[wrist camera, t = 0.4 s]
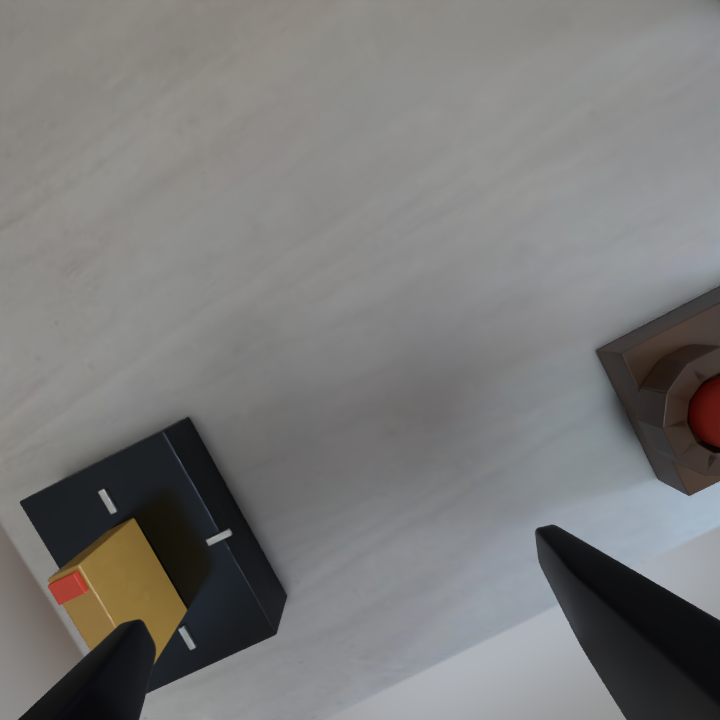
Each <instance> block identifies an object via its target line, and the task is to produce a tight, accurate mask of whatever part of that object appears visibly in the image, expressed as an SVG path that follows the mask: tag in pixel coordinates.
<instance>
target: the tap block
mask: <svg viewBox="0 0 720 720" xmlns="http://www.w3.org/2000/svg"><path fill="white" fill-rule="evenodd" d="M20 504H21V506H22V507H23V509H24V511H25V512H26V514H27V516H28V517H29V519H30V521H31V522H32V524H33V526H34V527H35V529H36V531H37V532H38V534H39V535H40V537H41V539H42V540H43V542H44V544H45V545H46V547H47V549H48V550H49V552H50V554H51V555H52V557H53V559H54V560H55V562H56V564H57V565H58V567H59V569H61V568H62V567H63V566H65V565H66V564H67V563H68V562H70V561H71V560H72V559H73V558H75V557H76V556H77V555H78V554H79V553H81V552H82V551H83V550H84V549H86V548H87V547H88V546H89V545H91V544H92V543H93V542H94V541H96V540H97V539H98V538H99V537H100V536H102V535H103V534H104V533H105V532H107V531H108V530H109V529H111V528H113V527H115V526H117V525H119V524H122V523H124V522H126V521H128V520H130V519H132V518H134V519H135V520H136V522H137V524H138V525H139V527H140V529H141V531H142V532H143V534H144V536H145V538H146V539H147V541H148V543H149V544H150V546H151V548H152V550H153V551H154V553H155V555H156V557H157V558H158V560H159V562H160V564H161V565H162V567H163V569H164V570H165V572H166V574H167V576H168V577H169V579H170V581H171V583H172V584H173V586H174V588H175V590H176V591H177V593H178V595H179V596H180V598H181V600H182V602H183V603H184V605H185V607H186V609H187V612H186V613H185V615H184V617H183V618H182V620H181V622H180V623H179V625H178V626H177V628H176V630H175V631H174V633H173V635H172V636H171V638H170V639H169V641H168V643H167V644H166V646H165V648H164V649H163V651H162V652H161V654H160V656H159V657H158V659H157V661H156V662H155V664H154V665H153V669H152V673H151V677H150V680H149V684H148V688H147V692H146V694H147V693H149V692H151V691H153V690H156V689H158V688H160V687H162V686H164V685H167V684H169V683H171V682H173V681H175V680H178V679H180V678H182V677H184V676H186V675H188V674H191V673H193V672H195V671H197V670H199V669H202V668H204V667H206V666H208V665H210V664H213V663H215V662H217V661H219V660H221V659H224V658H226V657H228V656H230V655H232V654H235V653H237V652H239V651H241V650H243V649H246V648H248V647H250V646H252V645H254V644H257V643H259V642H261V641H263V640H265V639H268V638H270V637H272V636H274V635H276V634H277V630H278V627H279V623H280V620H281V616H282V613H283V609H284V606H285V602H286V598H287V595H286V593H285V591H284V589H283V588H282V586H281V584H280V582H279V580H278V578H277V577H276V575H275V573H274V571H273V569H272V568H271V566H270V564H269V562H268V560H267V558H266V557H265V555H264V553H263V551H262V549H261V548H260V546H259V544H258V542H257V540H256V538H255V537H254V535H253V533H252V531H251V529H250V527H249V526H248V524H247V522H246V520H245V518H244V517H243V515H242V513H241V511H240V509H239V507H238V506H237V504H236V502H235V500H234V498H233V496H232V495H231V493H230V491H229V489H228V487H227V486H226V484H225V482H224V480H223V478H222V476H221V475H220V473H219V471H218V469H217V467H216V466H215V464H214V462H213V460H212V458H211V456H210V455H209V453H208V451H207V449H206V447H205V445H204V444H203V442H202V440H201V438H200V436H199V435H198V433H197V431H196V429H195V427H194V425H193V424H192V422H191V420H190V418H189V417H186V418H184V419H182V420H180V421H178V422H176V423H174V424H172V425H170V426H168V427H166V428H164V429H162V430H160V431H158V432H156V433H154V434H152V435H150V436H148V437H146V438H144V439H142V440H140V441H138V442H136V443H134V444H132V445H130V446H128V447H126V448H124V449H122V450H120V451H118V452H116V453H114V454H112V455H110V456H108V457H106V458H104V459H102V460H100V461H98V462H96V463H94V464H92V465H90V466H88V467H86V468H84V469H82V470H80V471H78V472H76V473H74V474H72V475H70V476H68V477H66V478H64V479H62V480H60V481H58V482H56V483H54V484H52V485H50V486H48V487H46V488H45V489H43V490H41V491H39V492H37V493H35V494H33V495H31V496H29V497H27V498H25V499H23V500H21V501H20Z"/></svg>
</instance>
